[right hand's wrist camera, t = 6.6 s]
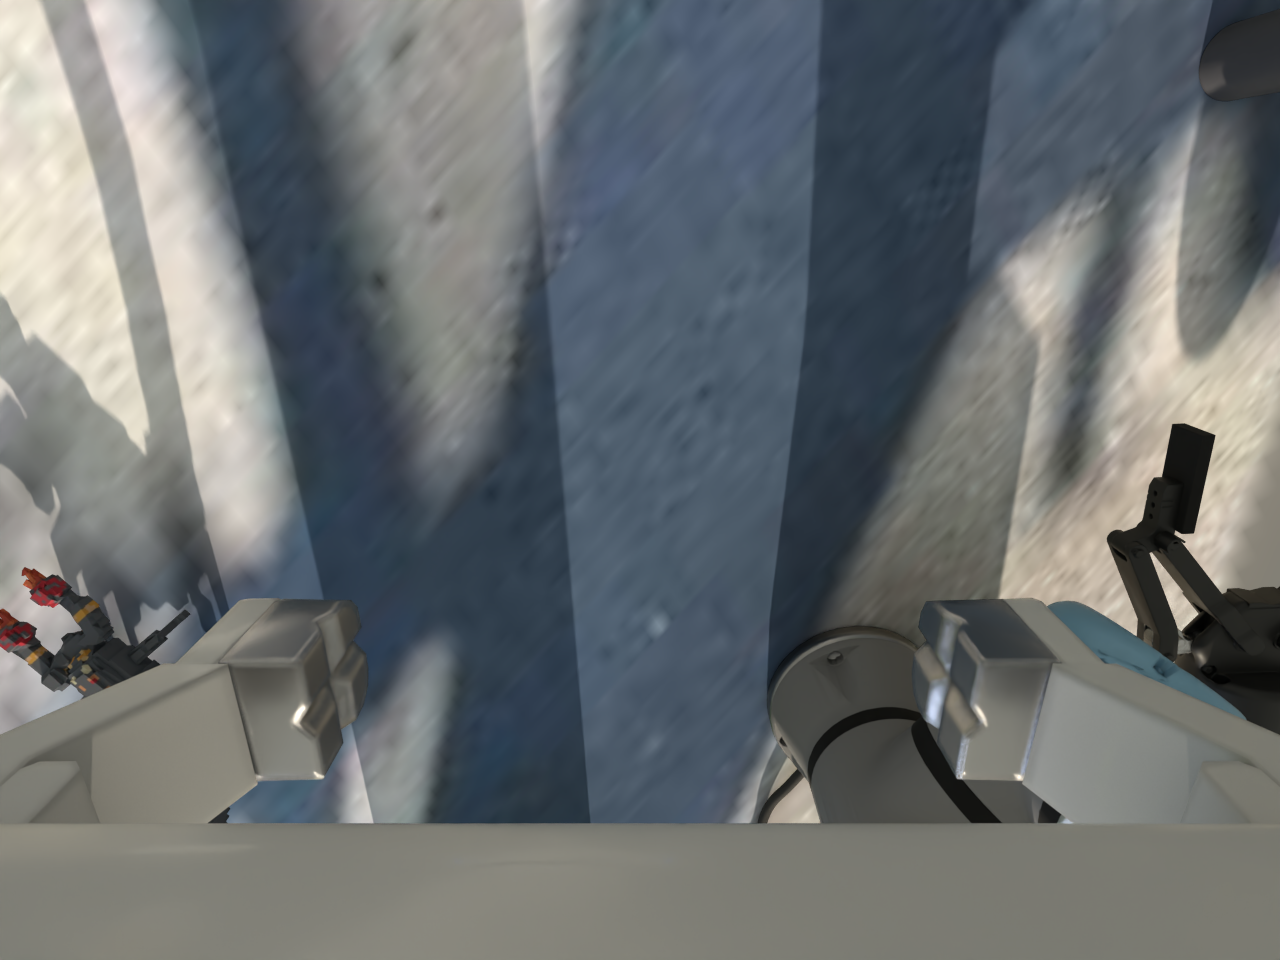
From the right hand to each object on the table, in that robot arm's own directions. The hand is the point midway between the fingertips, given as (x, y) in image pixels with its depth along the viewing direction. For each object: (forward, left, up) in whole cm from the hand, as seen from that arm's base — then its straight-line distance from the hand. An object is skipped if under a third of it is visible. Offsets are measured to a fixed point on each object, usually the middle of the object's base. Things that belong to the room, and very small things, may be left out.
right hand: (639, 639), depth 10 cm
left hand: (+7, +41, -34) cm, 54 cm away
